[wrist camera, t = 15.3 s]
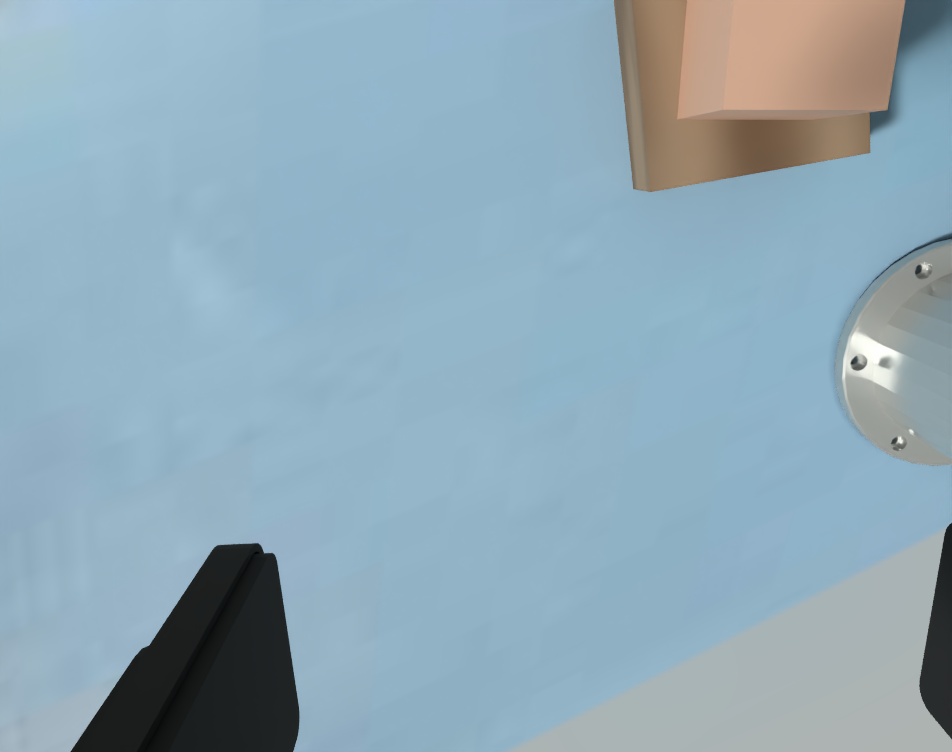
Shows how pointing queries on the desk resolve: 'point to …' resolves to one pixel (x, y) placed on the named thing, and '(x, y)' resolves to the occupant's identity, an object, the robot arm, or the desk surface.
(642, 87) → the walnut block
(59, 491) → the desk surface
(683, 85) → the terracotta cube
